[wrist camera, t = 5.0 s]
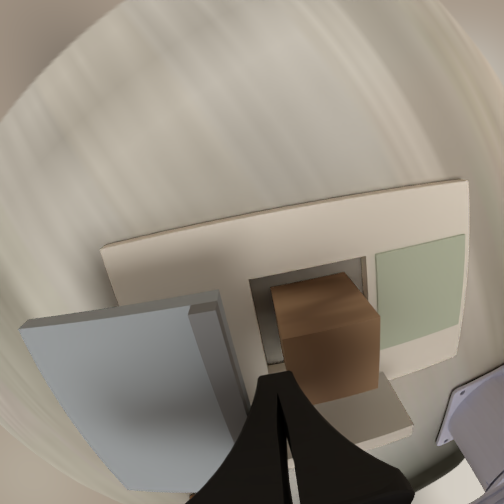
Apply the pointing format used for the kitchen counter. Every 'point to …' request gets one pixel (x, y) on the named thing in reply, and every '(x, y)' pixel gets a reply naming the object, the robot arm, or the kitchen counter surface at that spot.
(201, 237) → the puzzle board
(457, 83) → the kitchen counter surface
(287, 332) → the block
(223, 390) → the cover
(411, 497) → the robot arm
